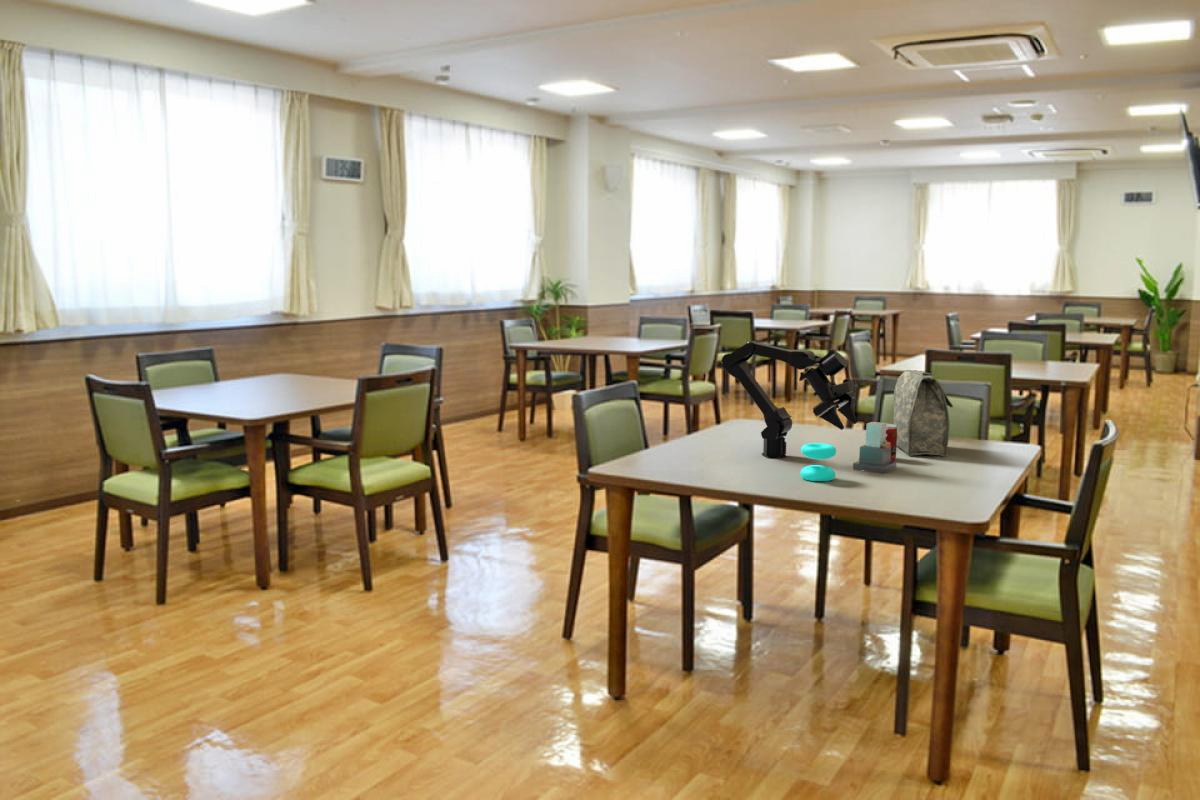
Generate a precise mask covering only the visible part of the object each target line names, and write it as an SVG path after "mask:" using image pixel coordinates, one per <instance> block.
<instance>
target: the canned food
mask: <svg viewBox="0 0 1200 800" xmlns="http://www.w3.org/2000/svg"><path fill="white" fill-rule="evenodd" d="M886 427H887V430H886V434H887V436H886V440H887V442H891V444H890V446H891V460H893V461H896V458H897V448H898V447H897V425H893V423H886Z"/></svg>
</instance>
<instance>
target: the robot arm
mask: <svg viewBox="0 0 1200 800" xmlns="http://www.w3.org/2000/svg"><path fill="white" fill-rule="evenodd" d="M754 355H756V356H759V357H763V358H768V359H772V360H777V361H780V362H783V363H785V364H787V365H789V366H790V367H793V368H795V369H797V370H805V369H806V371H801V372H800V374H799V382H803V381H805V380H807V382H808V384H809V385H810V386H811V389H812V390H813V391H814V392H813V395H814V397H818V399H819V400H820V402H819V403H818V404H817V405H815V406H813V408H812V413H813V414H814V416H815V417H818V418H819V419H822V420H824V421H826V422H828V423H829V424H831V425H833V426H834V427H836V428H837V429H839V430H844V429H845V426H844V424H843V422H842V420H841V418H840V417H839V415H838V413H837V411H838V412H839V413H840V414H841V415H842V416H843V417H845V418H846V419H847V420H849V422H850V423H852V424H853V425H856V424H857V423H858V420H857V417H856V415H855V414H856V413H855V411H854V407H853V405H854V402H855V401H856V400H855V398H856V395H855V393H853V392H854V391H855V387H854V386H855V385H856V383H855V382H854V381H853V379H851V378H850V377H849V378H845V379H844V378H843V381H842V382H841V383H838V384H837V383H836V382H835V381H831V380H830V379H829V377H828V376H830V377H834V376H836V375H837V374H839V373H840V372H841V371H842V370H844V369H845V368H847V367H848V362H847V360H846V357H844V356H843V355H842V354H840V353H839V352H837V350H836V349H835V348H833V349H831V350H830V351H828V353H826V354H825V355H824V356H818V355H816V354H815V353H814V351H812V350H811V349H810V350H809V349H788V348H783V347H779V346H775V345H770V344H766V343H761V342H758V341H756V340H754V341H747V342H746V343H745V344H743V345H742V346H741V347H739V348H737V349H735V350H733V351H732V352H728V353H725V354H724V355H723V356H722V357H721V361H720V364H721V367H722V369H724V371H726V373H727V374H729V375H730V376H731V377H733V378H735V379H736V380H737V381H738V382H739V383H740V384H741V386H742V387H743V389H744V390H745V391H746V393H747V394H748V395H749V397H750V398H751V399H752V401H753V402H754V403H755V405H756V406H757V408H758V409H759V410H760V411H761V413H762V416H763V419H764V420H763V421H764V423H765V428H764V429H763V430H761V432H760V436H761V438H762V439H763V450H762V451H763V452H761V455H762V456H763V457H766V458H768V459H770V458H771V459H772V458H787V455H786V454H787V442H786V438H785V437H787V435H788V432H789V431H791V429H792V427H793V421H792V419H791V418H792V415H790V414H789V413H788V412H787V409H786V408H785V407H784V406H783V407H778V406H776V405H775V404H774V402H773V401H772V400H771V398H770V396H768V394H767V393H766V392H765V390H764V389H763V388H762V386H761V385H760V384H759V383H758V381H757V379H756V378H755V377H754V376H753V374H752V372H751V371H750V367H749V362H748V361H749V360H751V358H752V357H753V356H754ZM814 366H817V367H815V368H814Z"/></svg>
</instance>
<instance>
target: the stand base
mask: <svg viewBox="0 0 1200 800" xmlns="http://www.w3.org/2000/svg"><path fill="white" fill-rule="evenodd" d="M890 444H891V442H886V443H885V445H884V447H883V448H872V447H866V443H865V444H863V445H860V446H859V459H858V460H857V461H854V462H852V470H853V469H856V470H855V471H861V470H864V471H863V472H869V471H871V472H872V473H877V472H878V473H879V474H887V473H889V472H890V471H892V470H894V469H896V468H897V462H898V461H896V460H893V461H891V446H890ZM871 472H870V473H871Z"/></svg>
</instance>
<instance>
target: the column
mask: <svg viewBox="0 0 1200 800" xmlns="http://www.w3.org/2000/svg"><path fill="white" fill-rule="evenodd" d="M886 424H887V423H886V422H878V421H870V422H868V423H866V430H865V444H866V447H872V448H883V447H884V445H885V443H886V442H887V440H886V436H887V434H886V430H887V427H886Z"/></svg>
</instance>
